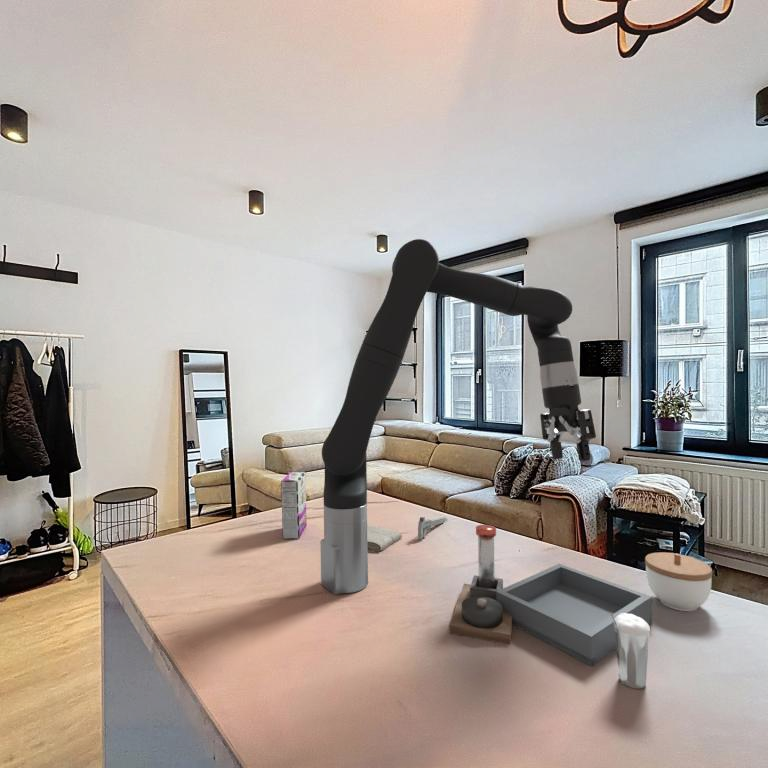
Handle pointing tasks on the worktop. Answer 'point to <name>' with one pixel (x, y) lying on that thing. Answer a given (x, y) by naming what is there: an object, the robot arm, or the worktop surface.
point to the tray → (572, 610)
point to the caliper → (427, 525)
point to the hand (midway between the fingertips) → (570, 459)
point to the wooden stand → (481, 613)
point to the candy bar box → (293, 505)
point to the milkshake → (632, 649)
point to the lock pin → (486, 555)
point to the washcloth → (381, 537)
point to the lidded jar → (678, 580)
